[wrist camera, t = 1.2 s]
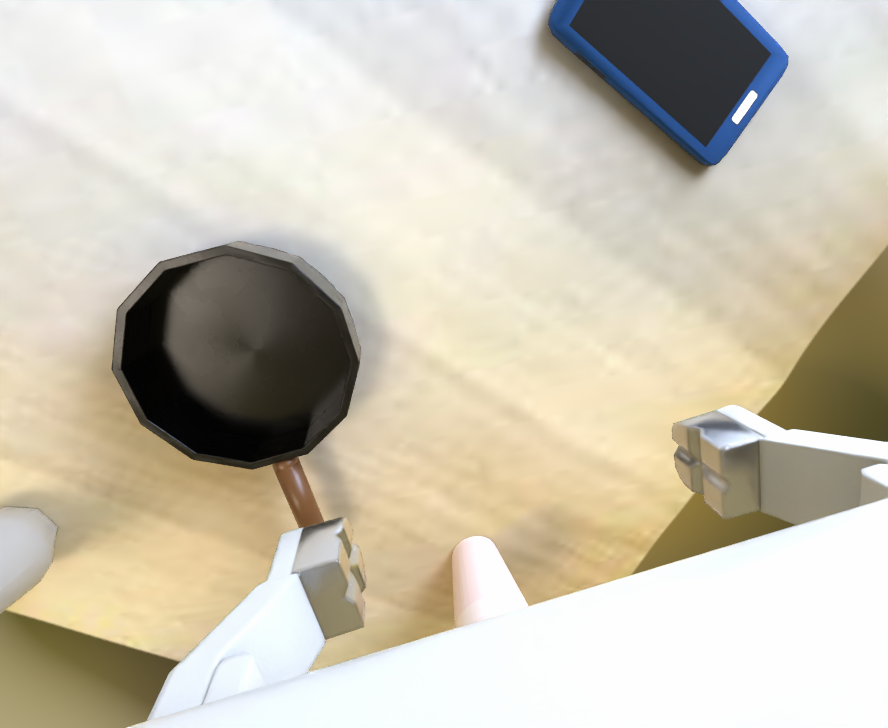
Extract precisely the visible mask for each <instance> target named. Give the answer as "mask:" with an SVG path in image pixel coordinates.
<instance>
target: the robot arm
mask: <svg viewBox="0 0 888 728" xmlns="http://www.w3.org/2000/svg"><path fill="white" fill-rule="evenodd" d="M672 439H673V440H674V441H675V442H676V443H677V444H678V445H679V446H678V448H677V450H676V452H675V454H674V460H675V467H676V470H677V472H678V474H679V477H680V479H681V480H682V481H683V483H684V484H685V485H686V486H687V487H688V488H689V489H690V490H691V491H692V492H696V493H699V494H703V495H704V500H705V503H706V504H707V505H708V506H710V507H711V508H712V509H713V510H714V511H715V512H716V513H718V514H719V515H720V516H721V517H722V518H724V519H728V518H732V517H736V516H739V515H743V514H747V513H751V512H754V511H758V510H761V511H762V512H763V513H766V514H769V515H771V516H774V517H777V518H779V519H782V520H785V521H787V522H790V523H792V524H795V525H796V526H793V527H790V528H787V529H783V530H780V531H776V532H773V533H770V534H766V535H763V536H760V537H756V538H753V539H750V540H746V541H743V542H740V543H736V544H733V545H730V546H727V547H723V548H720V549H717V550H714V551H710V552H707V553H703V554H700V555H697V556H694V557H690V558H687V559H684V560H680V561H677V562H674V563H670V564H668V565H664V566H660V567H657V568H654V569H651V570H647V571H644V572H641V573H637V574H634V575H631V576H627V577H624V578H621V579H617V580H614V581H611V582H607V583H604V584H601V585H597V586H594V587H591V588H587V589H584V590H581V591H577V592H574V593H571V594H568V595H564V596H561V597H558V598H554V599H551V600H548V601H544V602H541V603H538V604H534V605H531V606H528V607H524V608H521V609H518V610H514V611H511V612H508V613H505V614H501V615H498V616H495V617H491V618H488V619H485V620H481V621H478V622H475V623H471V624H468V625H465V626H461V627H458V628H455V629H451V630H448V631H445V632H442V633H438V634H435V635H432V636H428V637H425V638H422V639H418V640H415V641H412V642H408V643H405V644H402V645H398V646H395V647H392V648H388V649H385V650H382V651H379V652H375V653H372V654H369V655H365V656H362V657H359V658H355V659H352V660H349V661H345V662H342V663H339V664H335V665H332V666H329V667H325V668H322V669H319V670H316V671H312V672H309V673H308V671H309V670H310V668H311V666H312V665H313V663H314V661H315V660H316V658H317V656H318V655H319V653H320V651H321V650H322V648H323V646H324V645H325V643H326V639H329V638H332V637H335V636H339V635H342V634H345V633H348V632H351V631H354V630H357V629H360V628H363V627H364V617H365V601H364V598H363V596H362V592H363V590H364V589H365V588H366V575H365V566H364V562H363V558H362V554H361V551H360V548H359V546H358V545H356V544H354V543H353V542H352V539H353V529H352V527H351V524H350V522H349V519H348V518H347V517H346V516H345V517H341V518H337V519H333V520H329V521H326V522H322V523H318V524H314V525H310V526H307V527H305V528H303V527H302V528H299V529H295V530H292V531H289V532H285V533H283V534H282V535H281V536H280V539H279V542H278V545H277V548H276V551H275V554H274V558H273V561H272V564H271V567H270V570H269V573H268V576H267V579H266V582H264V583H261V584H259V585H258V586H257V587H256V588H255V589H254V590H253V591H252V592H251V593H250V594H249V595H248V596H247V597H246V598H245V599H244V600H243V601H242V602H241V603H239V604H238V605H237V606H236V607H235V608H234V609H233V610H232V611H231V612H230V613H229V614H228V615H227V616H226V617H225V618H224V619H223V620H222V621H221V622H220V623H219V624H218V625H217V626H216V627H215V628H214V629H213V630H212V631H211V632H210V633H209V634H208V635H207V636H206V637H205V638H204V639H203V640H202V641H201V642H200V643H199V644H198V645H197V646H196V647H195V648H194V649H193V650H192V651H191V652H190V653H189V654H188V655H187V656H186V657H185V658H184V659H183V660H182V661H181V662H180V663H179V664H178V665H177V666H176V667H175V668H174V669H173V670H172V671H171V672H170V673H169V675H168V677H167V679H166V681H165V683H164V685H163V688H162V690H161V692H160V694H159V696H158V698H157V700H156V702H155V705H154V707H153V709H152V711H151V713H150V715H149V718H148V720H147V722H143V723H140V724H137V725H133V726H130V727H127V728H888V442H880V441H873V440H867V439H859V438H853V437H845V436H838V435H831V434H824V433H817V432H810V431H803V430H796V429H792V430H788V431H786V430H784V429H782V428H781V427H778V426H777V425H775V424H772V423H771V422H769V421H767V420H765V419H763V418H761V417H759V416H757V415H755V414H753V413H751V412H749V411H747V410H745V409H744V408H742V407H740V406H738V405H729V406H726V407H723V408H720V409H717V410H714V411H712V412H708V413H705V414H702V415H699V416H696V417H692V418H689V419H686V420H683V421H680V422H676V423H673V427H672Z"/></svg>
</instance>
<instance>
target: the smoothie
mask: <svg viewBox="0 0 888 728" xmlns="http://www.w3.org/2000/svg"><path fill="white" fill-rule="evenodd" d="M452 573H453V594H454V615H455V628H458V627H461V626H465V625H468V624H471V623H475V622H478V621H481V620H485V619H488V618H491V617H495V616H498V615H501V614H505V613H508V612H511V611H514V610H518V609H521V608H524V607H528V604H527V603H526V601H525V599H524V597H523V595H522V593H521V592H520V590H519V588H518V586H517V584H516V583H515V581H514V579H513V577H512V575H511V573H510V572H509V570H508V568H507V566H506V564H505V563H504V561H503V559H502V557H501V555H500V554H499V552H498V550H497V548H496V546H495V544H494V543H493V542H492V541H491V540H490V539H488V538H486V537H482V536H472V537H468V538H466V539H464V540H462V541H461V542H459V543H458V544H457V545H456V547H455V548H454V550H453V553H452Z"/></svg>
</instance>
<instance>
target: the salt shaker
mask: <svg viewBox="0 0 888 728" xmlns="http://www.w3.org/2000/svg"><path fill="white" fill-rule="evenodd" d="M57 529H58V527H57V526H56V525H55V524H54V523H53V522H52V521H51V520H49V519H48V518H47V517H46V516H45V515H44V514H43V513H42V512H41V511H40V510H39V509H35V508H19V507H4V508H1V509H0V614H1V613H2V612H3V611H4V610H6V609H7V608H8V607H9V606H11V605H12V604H13V603H14V602H16V601H17V600H18V599H19V598H21V597H22V596H23V595H24V594H25V593H27V592H28V591H29V590H30V589H32V588H33V587H34V586H35V585H37V584H38V583H39V582H40V581H41V580H42V578H43V577H44V575H45V573H46V572H47V570H48V568H49V567H50V565H51V563H52V562H53V556H54V547H55V538H56V533H57Z"/></svg>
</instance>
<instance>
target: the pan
mask: <svg viewBox="0 0 888 728" xmlns="http://www.w3.org/2000/svg"><path fill="white" fill-rule="evenodd" d="M360 355H361V347H360V344H359V341H358V338H357V334H356V330H355V326H354V322H353V319H352V317H351V314H350V312H349V309H348V307H347V304H346V301H345V298H344V297H343V296H342V295H341V294H340V293H339V292H338V291H337V290H336V289H335V288H334V286H333V285H332V284H331V283H330V282H329V281H328V280H327V279H326V278H325V277H324V276H323V275H322V274H321V273H319V272H318V271H317V270H316V269H314V268H313V267H312V266H310V265H309V264H308V263H307V262H305V261H304V260H303V259H302V258H301V257H298V256H295V255H291V254H288V253H286V252H283V251H280V250H277V249H274V248H269V247H264V246H260V245H254V244H250V243H246V242H242V241H237V242H233V243H230V244H226V245H222V246H218V247H214V248H210V249H206V250H203V251H199V252H195V253H191V254H187V255H183V256H179V257H176V258H172V259H168V260H164V261H161V262H159V263H158V264H157V265H156V266H155V267H154V268H153V269H152V270H151V272H150V273H149V274H148V275H147V276H146V277H145V278H144V279H143V281H142V282H141V283H140V284H139V285H138V286H137V287H136V288H135V290H134V291H133V292H132V293H131V294H130V295H129V296H128V297H127V298H126V300H125V301H124V302H123V303H122V304H121V305H120V306H119V307H118V309H117V316H116V327H115V338H114V349H113V360H112V371H113V373H114V375H115V377H116V379H117V380H118V382H119V384H120V386H121V388H122V390H123V392H124V394H125V395H126V397H127V399H128V401H129V403H130V405H131V407H132V409H133V411H134V412H135V414H136V416H137V418H138V420H139V422H140V424H141V425H143V426H144V427H146V428H147V429H149V430H150V431H152V432H153V433H154V434H156V435H157V436H159V437H160V438H162V439H163V440H165V441H166V442H168V443H169V444H171V445H172V446H173V447H175V448H176V449H178V450H179V451H181V452H182V453H184V454H185V455H187V456H188V457H190V458H191V459H193V460H198V461H204V462H210V463H216V464H222V465H228V466H234V467H240V468H246V469H256V468H260V467H263V466H267V465H270V464H273V468H274V471H275V473H276V476H277V478H278V480H279V483H280V485H281V487H282V490H283V492H284V494H285V496H286V499H287V501H288V503H289V506H290V508H291V510H292V513H293V515H294V517H295V520H296V522H297V524H298V526H299V528H302V527H303V528H305V527H307V526H310V525H314V524H318V523H322V522H324V520H323V518H322V515H321V513H320V510H319V508H318V505H317V503H316V500H315V498H314V495H313V493H312V491H311V488H310V486H309V483H308V481H307V478H306V476H305V473H304V471H303V468H302V466H301V464H300V461H299V459H298V457H299V456H302V455H306V454H308V453H309V452H310V451H311V450H312V449H313V448H314V447H315V446H317V445H318V444H319V443H320V442H321V441H322V440H323V439H324V438H325V437H326V436H327V435H328V434H329V433H330V432H331V431H332V430H333V429H334V428H335V427H336V426H337V425H338V424H339V423H340V422H341V421H342V420H343V419H344V418H345V417H346V416H347V413H348V409H349V405H350V401H351V397H352V393H353V389H354V385H355V381H356V377H357V373H358V369H359V365H360Z"/></svg>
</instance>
